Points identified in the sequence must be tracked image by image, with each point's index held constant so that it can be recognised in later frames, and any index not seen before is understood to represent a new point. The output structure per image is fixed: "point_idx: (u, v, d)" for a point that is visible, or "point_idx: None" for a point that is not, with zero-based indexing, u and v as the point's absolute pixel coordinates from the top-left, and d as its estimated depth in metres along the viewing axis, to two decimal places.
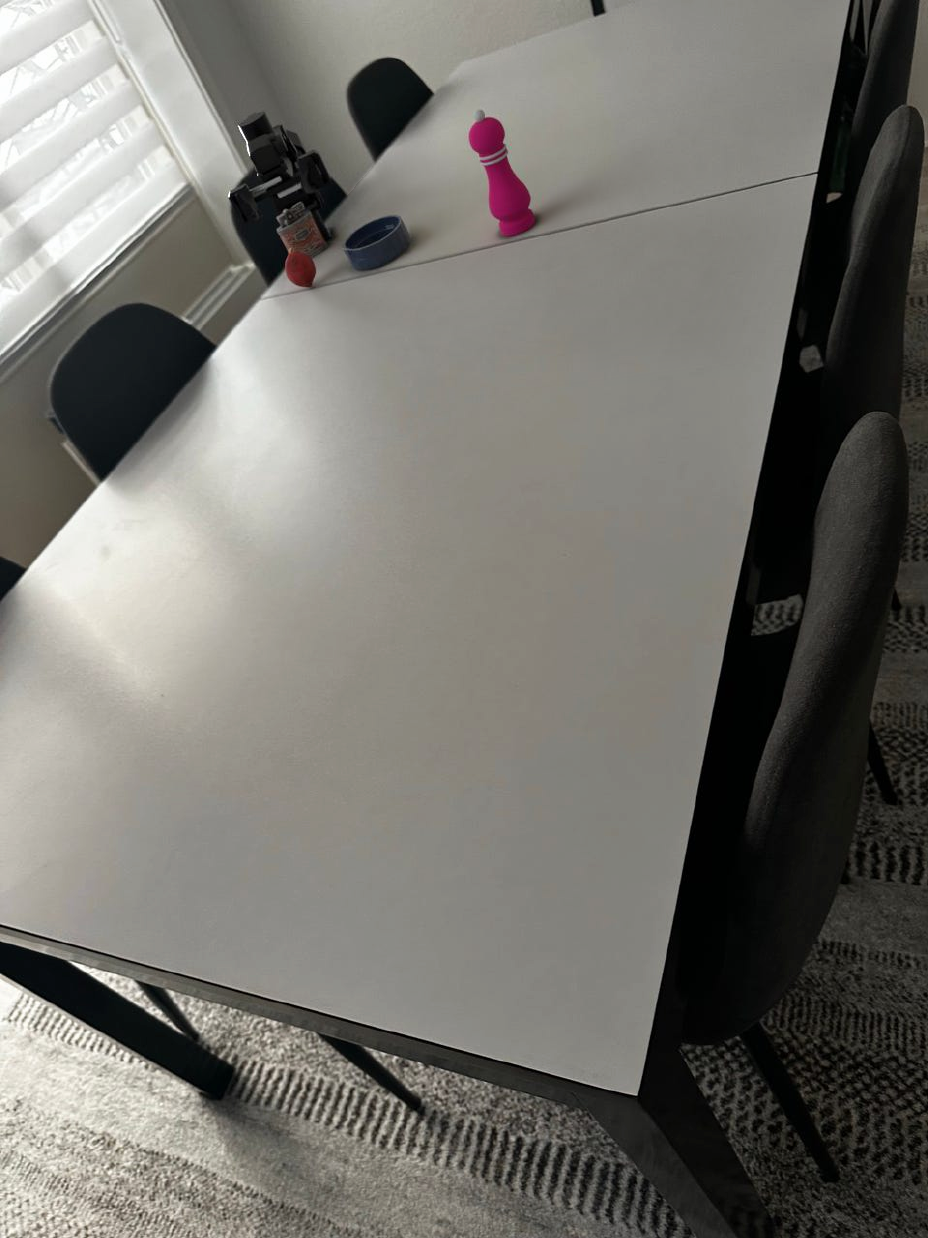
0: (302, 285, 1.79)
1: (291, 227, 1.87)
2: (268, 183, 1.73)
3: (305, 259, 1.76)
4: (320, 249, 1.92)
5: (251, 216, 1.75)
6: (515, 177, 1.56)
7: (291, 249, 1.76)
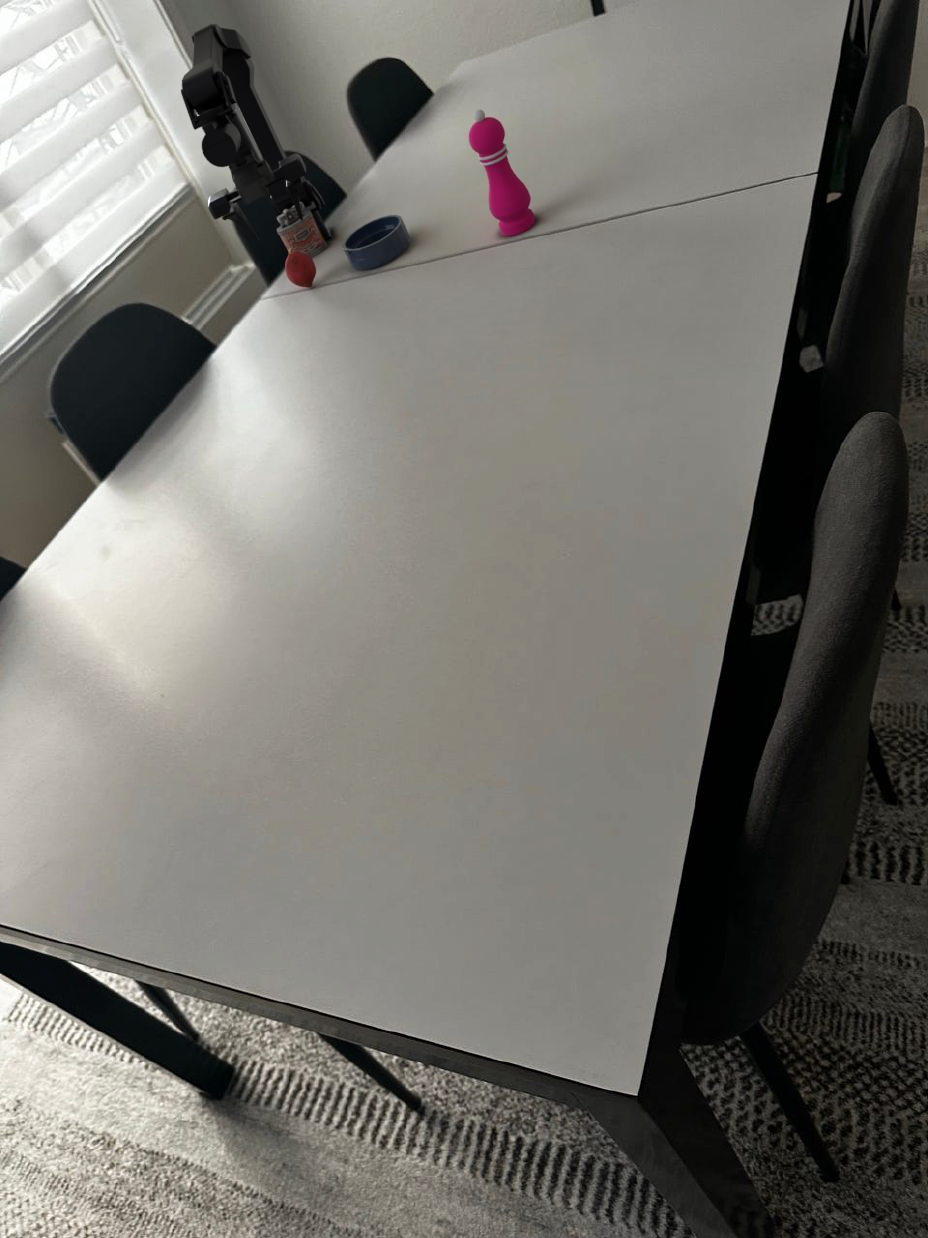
0: (302, 285, 1.79)
1: (292, 228, 1.87)
2: None
3: (305, 259, 1.76)
4: (320, 249, 1.92)
5: None
6: (515, 177, 1.56)
7: (291, 249, 1.76)
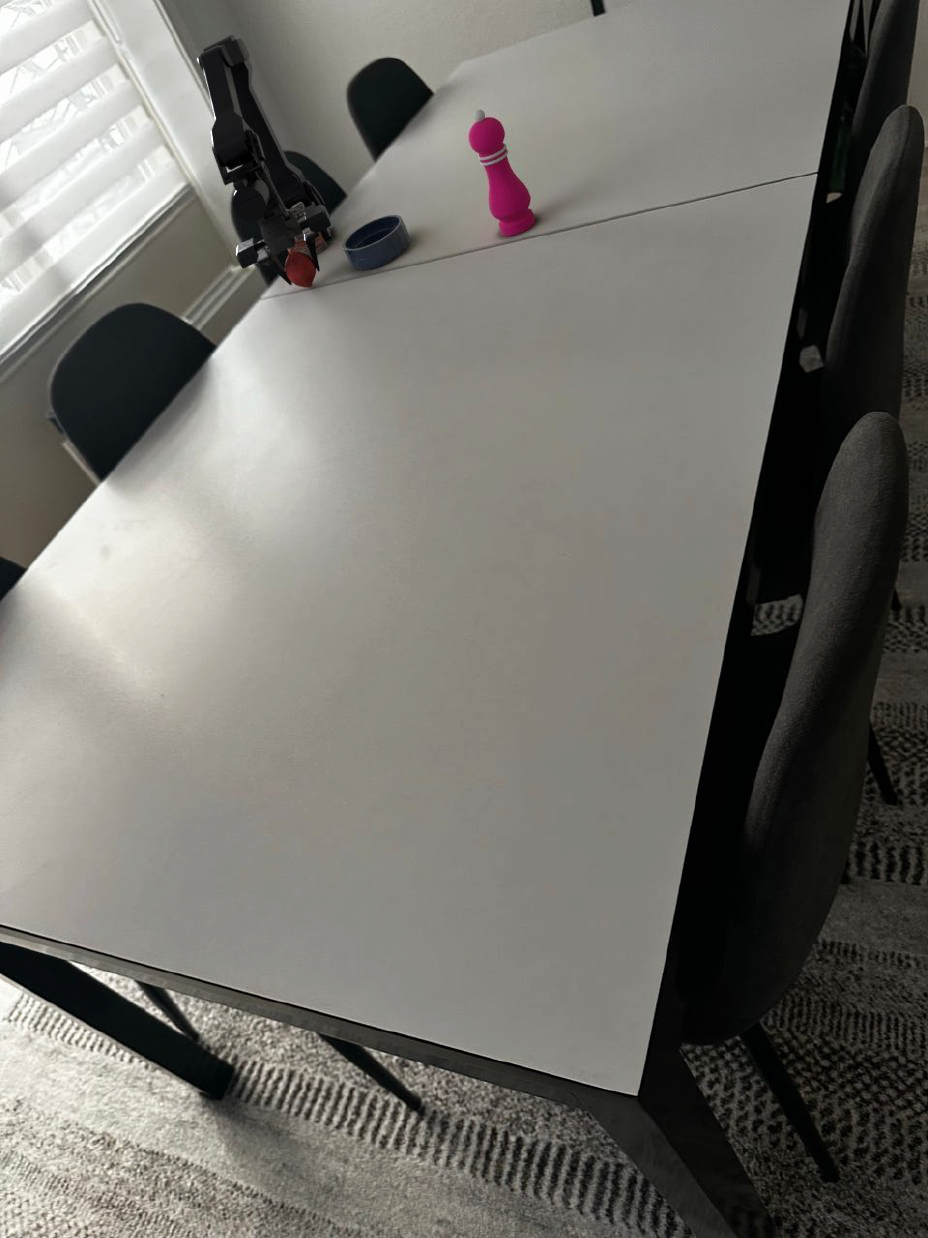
0: (302, 285, 1.79)
1: None
2: None
3: (305, 259, 1.76)
4: (320, 249, 1.92)
5: None
6: (515, 177, 1.56)
7: (291, 249, 1.76)
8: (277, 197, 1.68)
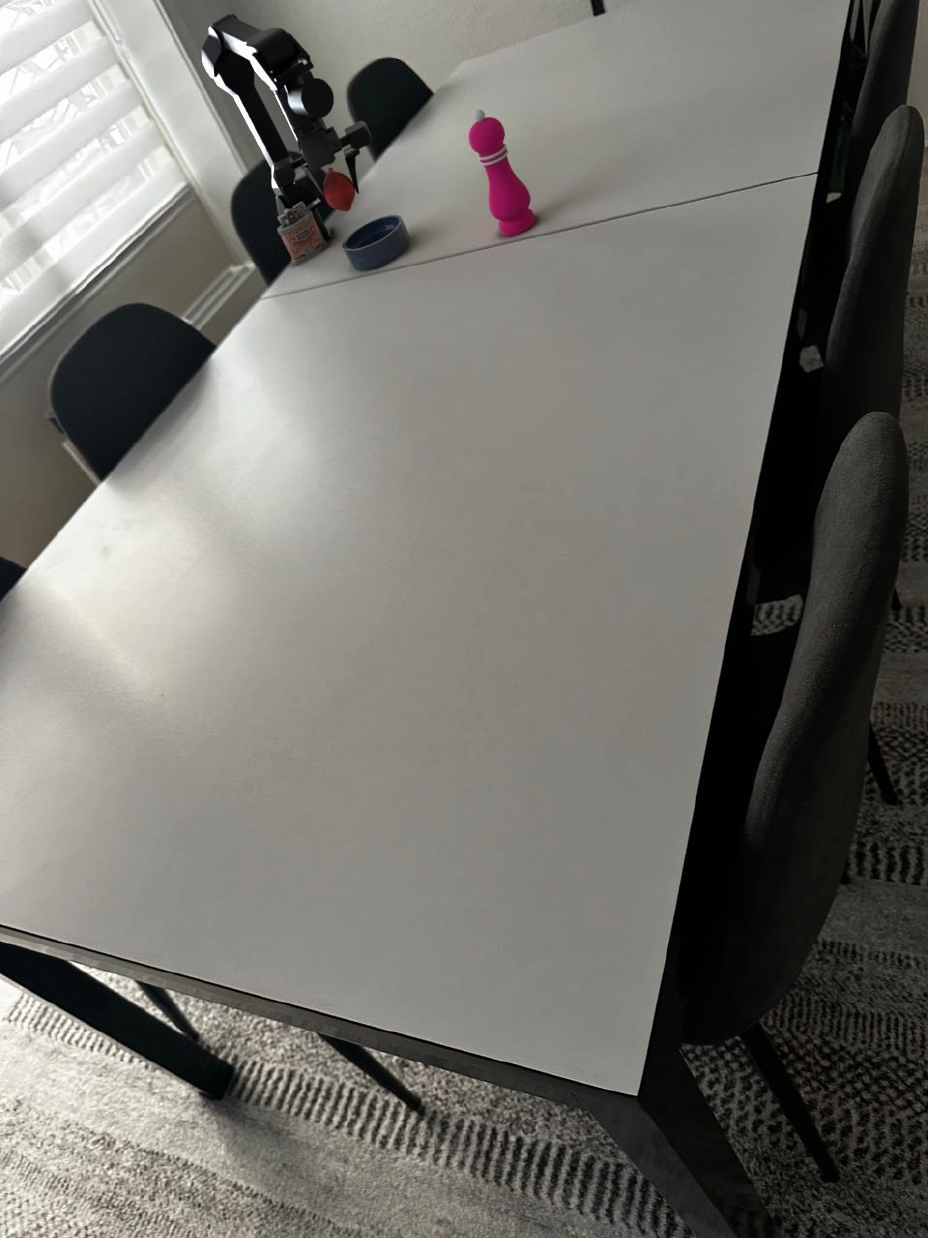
0: (340, 208, 1.70)
1: (292, 228, 1.87)
2: None
3: (344, 180, 1.67)
4: (320, 249, 1.92)
5: None
6: (515, 177, 1.56)
7: (329, 169, 1.67)
8: None
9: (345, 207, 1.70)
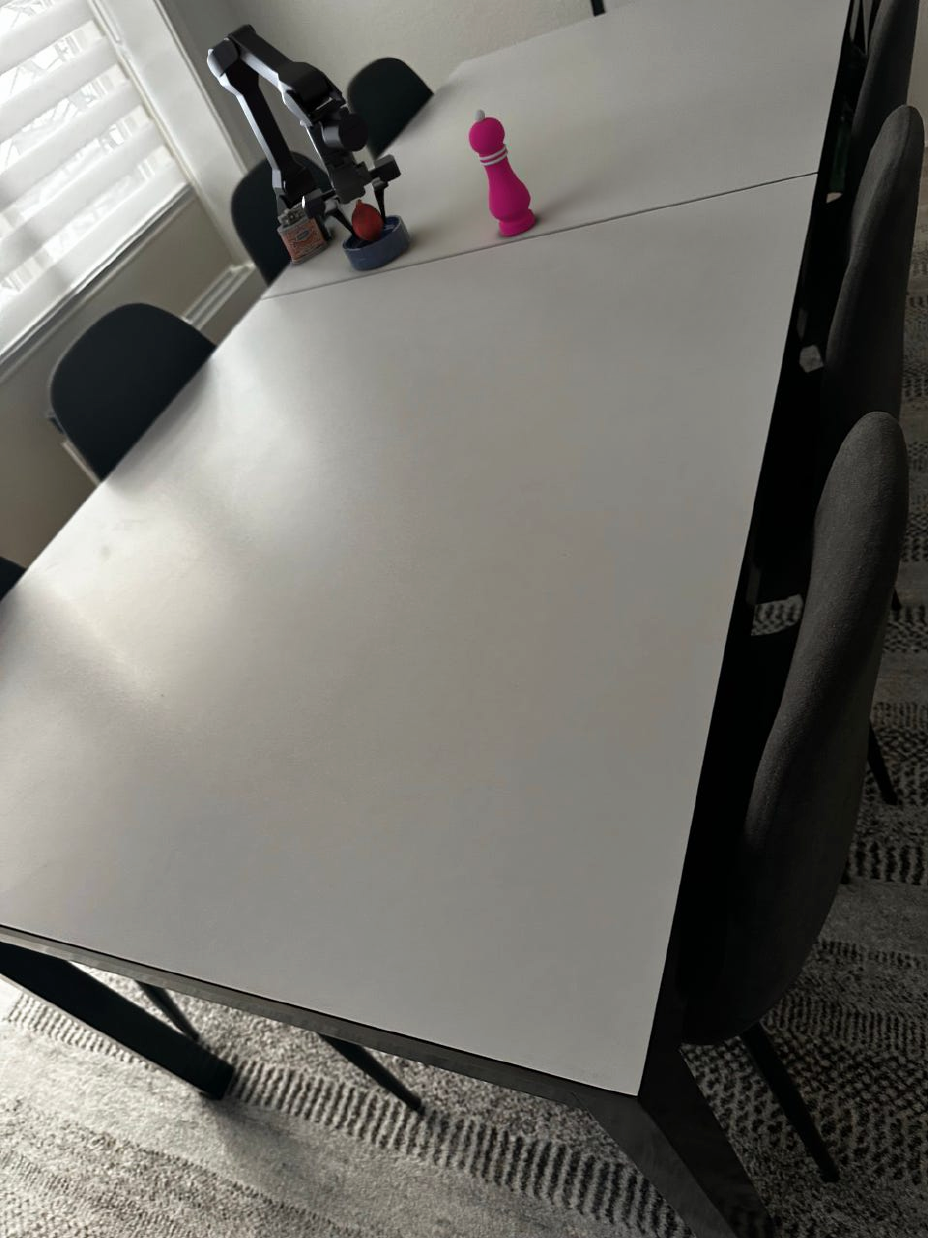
0: (368, 238, 1.74)
1: (293, 228, 1.87)
2: None
3: (373, 211, 1.71)
4: (320, 249, 1.92)
5: None
6: (515, 177, 1.56)
7: (358, 200, 1.71)
8: None
9: (373, 237, 1.74)
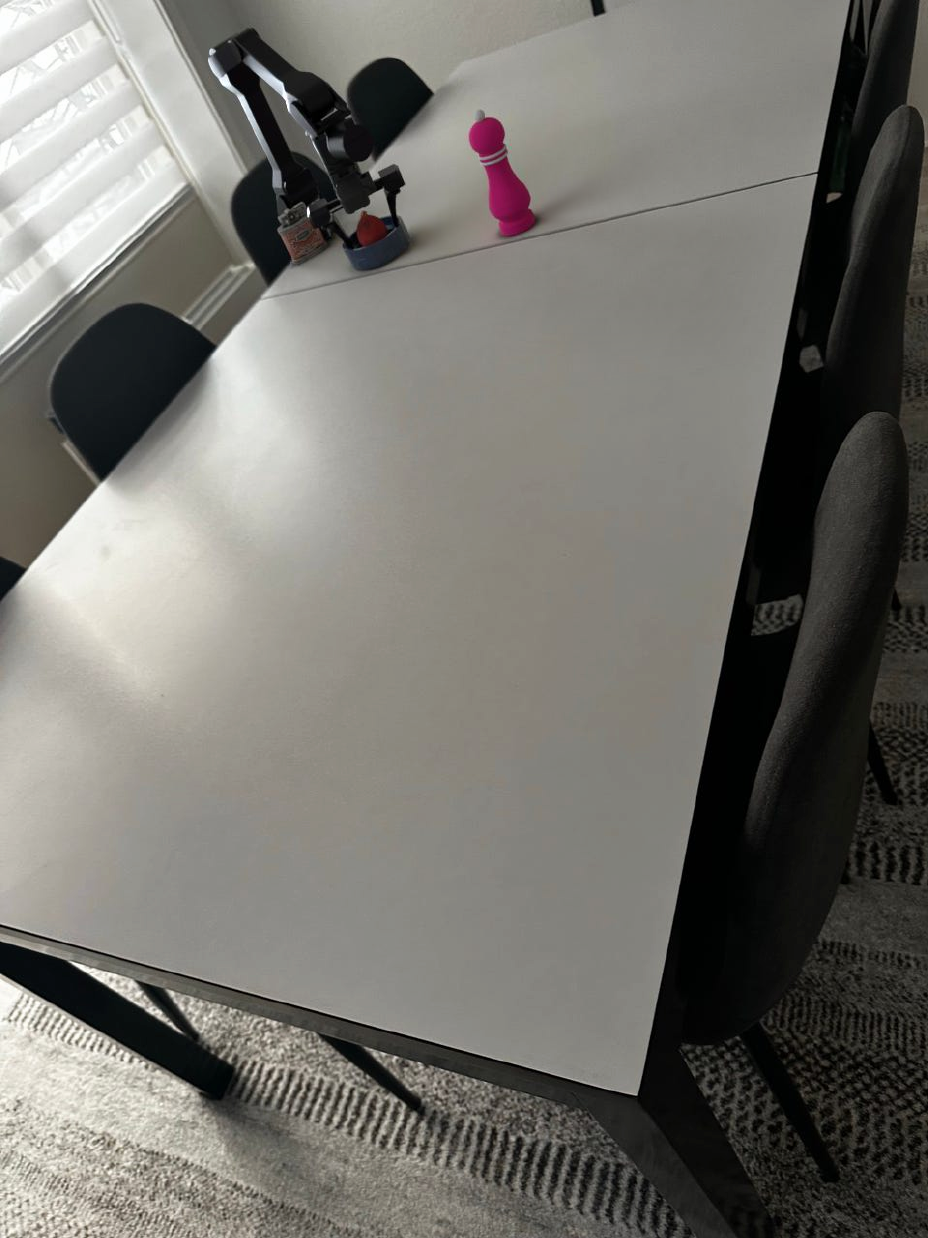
0: None
1: (293, 228, 1.87)
2: None
3: (378, 222, 1.73)
4: (320, 249, 1.92)
5: None
6: (515, 177, 1.56)
7: (363, 212, 1.73)
8: None
9: None
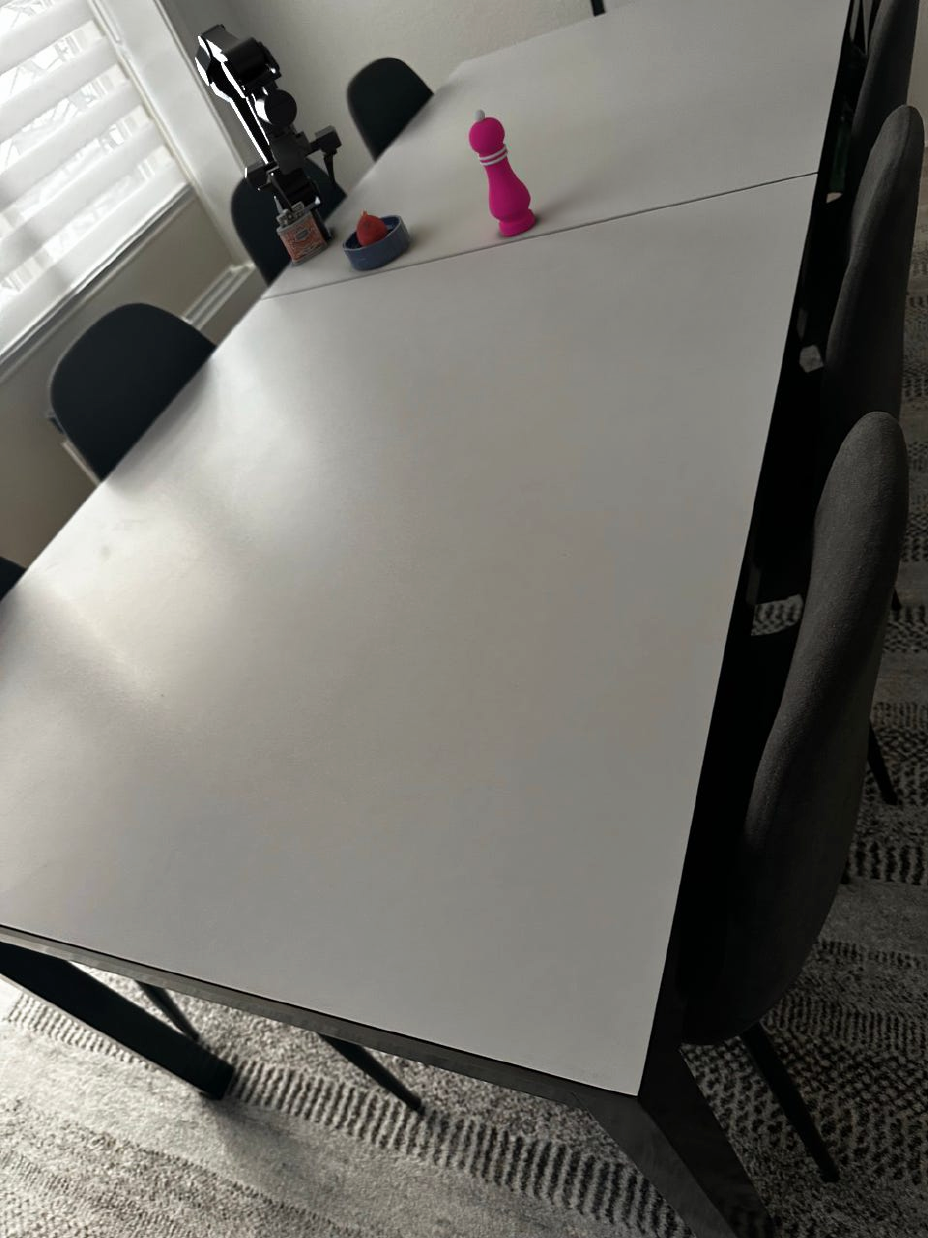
0: None
1: (291, 228, 1.87)
2: None
3: (378, 222, 1.73)
4: (320, 249, 1.92)
5: None
6: (515, 177, 1.56)
7: (363, 212, 1.73)
8: None
9: None
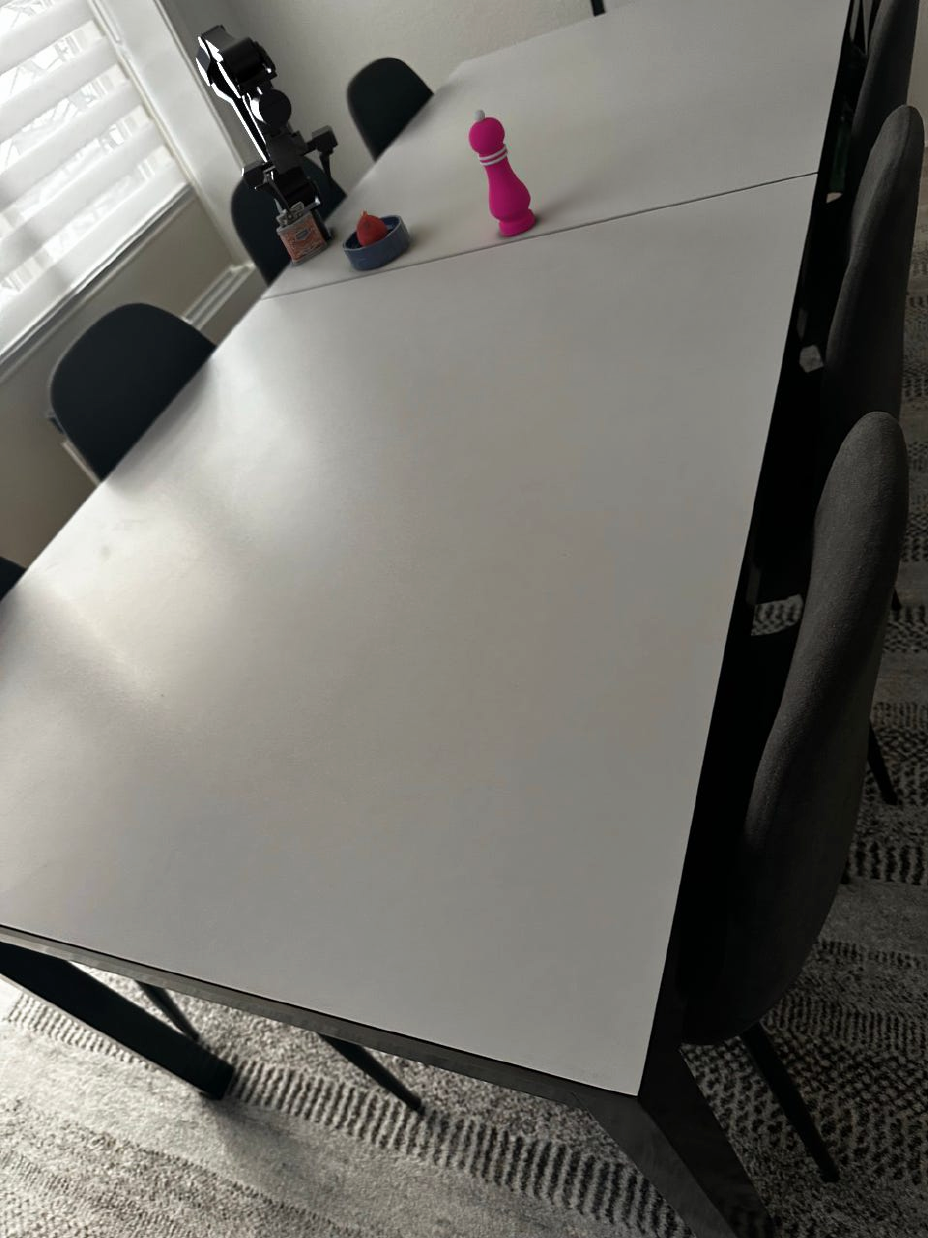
0: None
1: (291, 228, 1.87)
2: None
3: (378, 222, 1.73)
4: (320, 249, 1.92)
5: None
6: (515, 177, 1.56)
7: (363, 212, 1.73)
8: None
9: None
